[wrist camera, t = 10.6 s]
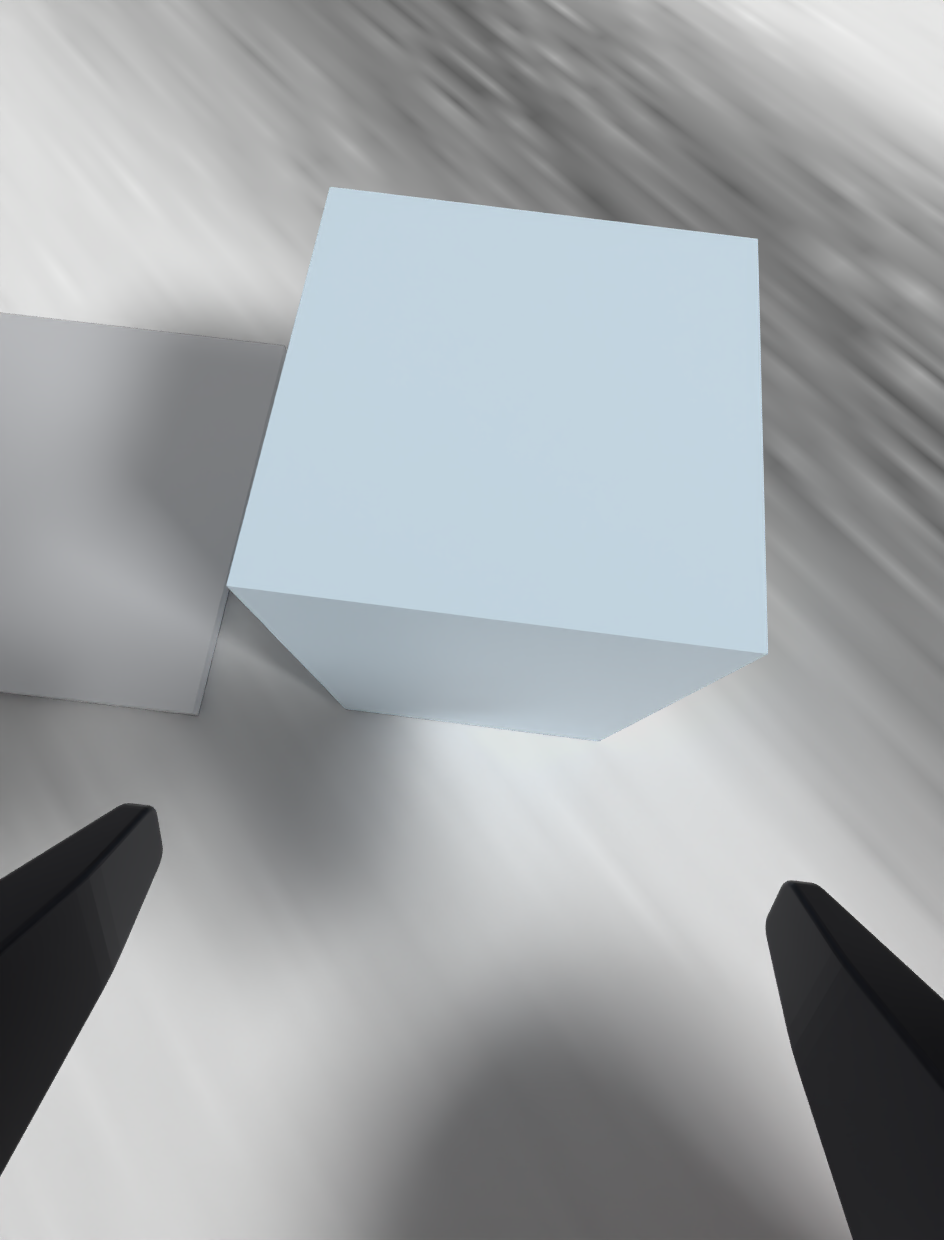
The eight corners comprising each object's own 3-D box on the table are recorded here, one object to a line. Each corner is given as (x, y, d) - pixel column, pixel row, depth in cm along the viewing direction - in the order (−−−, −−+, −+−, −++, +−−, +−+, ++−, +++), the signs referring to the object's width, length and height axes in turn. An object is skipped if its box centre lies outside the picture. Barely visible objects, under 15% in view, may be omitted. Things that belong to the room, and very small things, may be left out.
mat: (197, 715, 17) (192, 713, 16) (-241, 664, 17) (-257, 660, 17) (287, 354, 21) (284, 345, 20) (-74, 312, 21) (-84, 302, 20)
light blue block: (599, 741, 17) (767, 654, 8) (345, 709, 17) (226, 585, 8) (612, 512, 19) (757, 238, 10) (386, 484, 19) (330, 186, 10)
